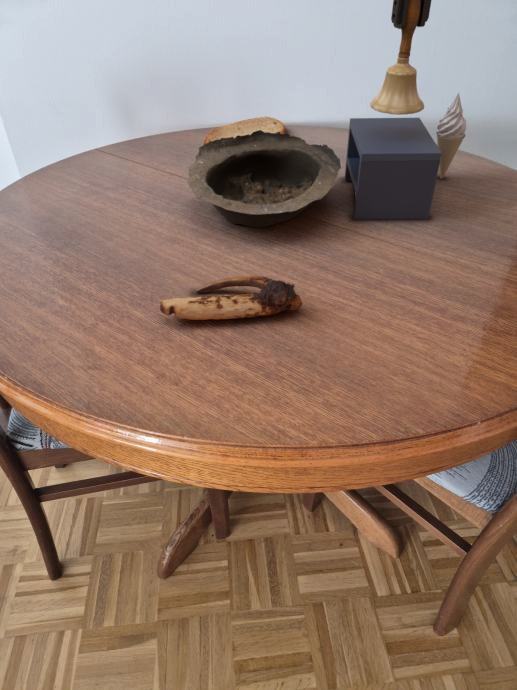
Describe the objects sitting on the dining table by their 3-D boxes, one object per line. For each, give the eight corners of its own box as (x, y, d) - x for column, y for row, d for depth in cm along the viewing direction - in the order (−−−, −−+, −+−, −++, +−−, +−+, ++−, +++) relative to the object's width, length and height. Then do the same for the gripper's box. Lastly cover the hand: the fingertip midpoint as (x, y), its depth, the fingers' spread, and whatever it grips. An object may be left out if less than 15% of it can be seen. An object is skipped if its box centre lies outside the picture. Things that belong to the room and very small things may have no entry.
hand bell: (394, 95, 89) (408, -21, 79) (435, 107, 84) (456, -16, 74) (358, 106, 86) (369, -14, 75) (399, 119, 81) (417, -8, 70)
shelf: (409, 178, 101) (419, 117, 94) (428, 219, 89) (441, 153, 82) (344, 178, 101) (349, 118, 94) (354, 219, 89) (361, 153, 82)
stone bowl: (291, 166, 105) (295, 118, 99) (362, 232, 89) (372, 179, 83) (169, 190, 97) (164, 139, 91) (222, 266, 81) (221, 212, 75)
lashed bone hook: (293, 285, 76) (163, 292, 74) (294, 256, 73) (159, 262, 71) (304, 325, 68) (161, 334, 67) (307, 294, 66) (156, 302, 64)
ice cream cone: (422, 175, 102) (437, 90, 92) (444, 170, 103) (462, 86, 94) (437, 185, 98) (456, 98, 89) (461, 181, 100) (481, 94, 90)
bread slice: (283, 126, 123) (283, 108, 121) (292, 156, 110) (292, 138, 107) (204, 129, 123) (203, 112, 120) (203, 160, 109) (201, 141, 106)
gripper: (397, -134, 62) (378, 36, 74) (499, -136, 66) (466, 27, 77) (366, -132, 68) (353, 26, 79) (461, -134, 71) (436, 18, 82)
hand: (409, 26), depth 78 cm, fingers closed on hand bell, 2 cm apart
